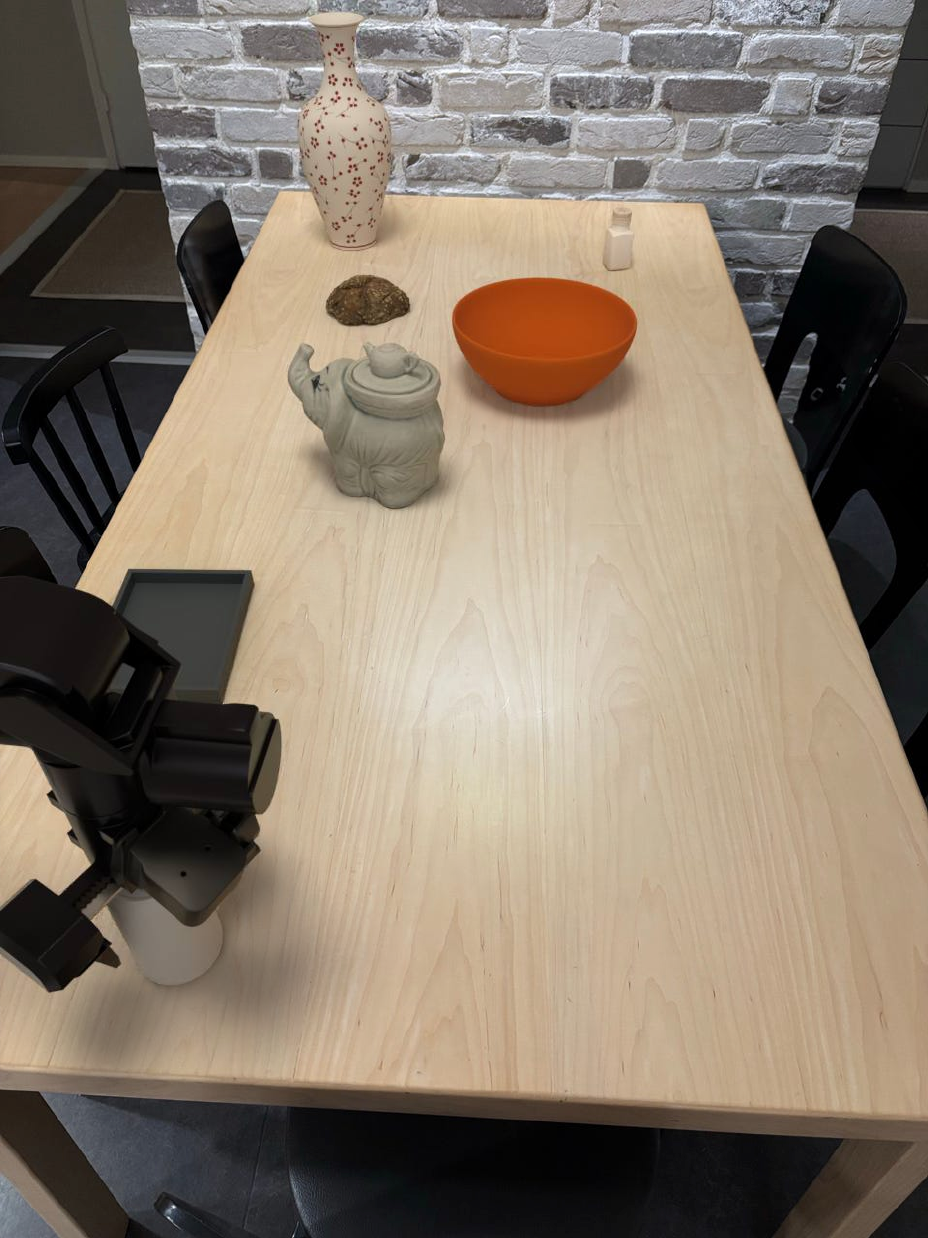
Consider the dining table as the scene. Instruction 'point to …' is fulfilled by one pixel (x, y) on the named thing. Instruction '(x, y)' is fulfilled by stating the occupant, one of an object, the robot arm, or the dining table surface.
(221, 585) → the rectangular tray
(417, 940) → the dining table surface
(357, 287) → the bread roll
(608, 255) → the pepper shaker
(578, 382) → the bowl
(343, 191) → the vase
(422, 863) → the dining table surface
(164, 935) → the beverage can
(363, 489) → the teapot
